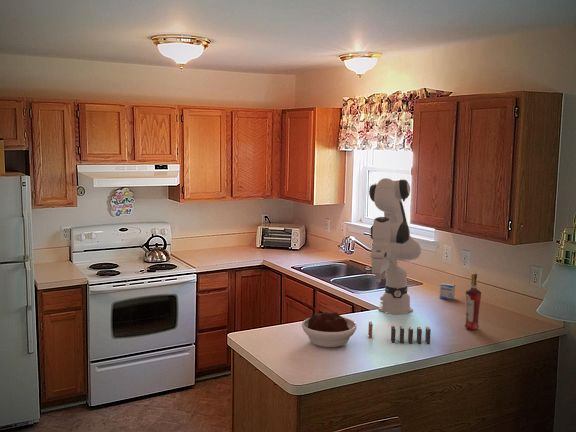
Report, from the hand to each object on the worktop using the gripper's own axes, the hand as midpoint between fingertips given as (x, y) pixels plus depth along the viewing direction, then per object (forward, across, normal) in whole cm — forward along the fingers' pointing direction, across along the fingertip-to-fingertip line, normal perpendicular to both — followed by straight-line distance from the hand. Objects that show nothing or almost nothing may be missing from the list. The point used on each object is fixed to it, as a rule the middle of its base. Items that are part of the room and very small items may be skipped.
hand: (380, 280), depth 281 cm
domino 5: (+27, +2, +19) cm, 33 cm away
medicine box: (+25, -80, +21) cm, 87 cm away
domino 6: (+27, +1, +23) cm, 36 cm away
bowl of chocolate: (+28, +20, -19) cm, 39 cm away
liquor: (+27, -29, +40) cm, 56 cm away
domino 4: (+27, +4, +15) cm, 32 cm away
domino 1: (+27, +4, -4) cm, 28 cm away
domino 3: (+27, +5, +12) cm, 30 cm away
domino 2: (+27, +6, +8) cm, 29 cm away
